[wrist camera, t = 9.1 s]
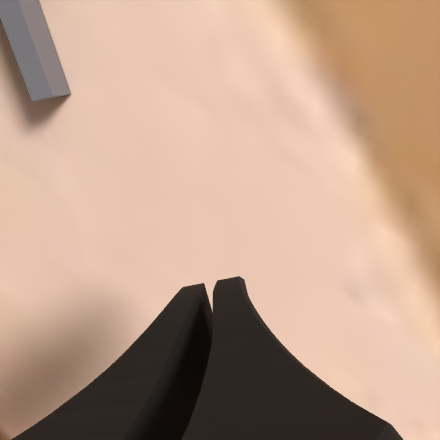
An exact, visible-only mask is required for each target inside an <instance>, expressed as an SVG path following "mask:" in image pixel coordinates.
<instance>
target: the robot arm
mask: <svg viewBox="0 0 440 440" xmlns="http://www.w3.org/2000/svg"><path fill="white" fill-rule="evenodd" d="M12 440H403V439H402V437H401V436H400V435H399V434H398V432H397V431H396V430H395V429H394V427H393V426H392V425H391V424H389V423H388V422H386V421H384V420H383V419H381V418H379V417H377V416H375V415H374V414H372V413H370V412H368V411H367V410H365V409H363V408H361V407H360V406H358V405H356V404H355V403H353V402H351V401H350V400H349V399H347V398H346V397H344V396H343V395H341V394H340V393H338V392H337V391H336V390H334V389H333V388H331V387H330V386H329V385H327V384H326V383H325V382H324V381H322V380H321V379H320V378H319V377H317V376H316V375H315V374H314V373H312V372H311V371H310V370H309V369H307V368H306V367H305V366H304V365H303V364H302V363H301V362H299V361H298V360H297V359H296V358H295V357H294V356H293V355H292V354H291V353H290V352H289V351H288V350H287V349H286V348H285V347H284V346H283V345H282V344H281V342H280V341H279V340H278V339H277V338H276V337H275V335H274V334H273V333H272V332H271V331H270V329H269V328H268V327H267V325H266V324H265V323H264V321H263V320H262V318H261V317H260V316H259V314H258V312H257V311H256V309H255V308H254V306H253V304H252V302H251V301H250V299H249V297H248V293H247V289H246V285H245V281H244V279H243V278H241V277H233V278H228V279H223V280H218V281H217V283H216V285H215V287H214V290H213V313H212V309H211V306H210V302H209V299H208V295H207V292H206V288H205V285H204V283H202V284H197V285H192V286H186V287H183V288H182V289H181V290H180V291H179V292H178V293H177V294H176V295H175V296H174V298H173V299H172V300H171V301H170V302H169V304H168V305H167V306H166V307H165V308H164V310H163V311H162V312H161V313H160V314H159V315H158V317H157V318H156V319H155V320H154V321H153V322H152V324H151V325H150V326H149V327H148V328H147V329H146V330H145V331H144V333H143V334H142V335H141V336H140V337H139V338H138V339H137V340H136V341H135V342H134V343H133V344H132V345H131V346H130V347H129V348H128V349H127V350H126V351H125V353H124V354H123V355H122V356H120V357H119V358H118V359H117V360H116V361H115V362H114V363H113V364H112V365H111V366H110V367H109V368H108V369H107V370H105V371H104V372H103V373H102V374H101V375H100V376H98V377H97V378H96V379H95V380H94V381H93V382H92V383H90V384H89V385H88V386H87V387H85V388H84V389H83V390H81V391H80V392H79V393H77V394H76V395H75V396H74V397H72V398H71V399H70V400H68V401H67V402H66V403H64V404H63V405H62V406H60V407H59V408H58V409H56V410H55V411H54V412H52V413H51V414H50V415H48V416H47V417H45V418H44V419H42V420H41V421H39V422H38V423H36V424H35V425H33V426H32V427H30V428H29V429H27V430H26V431H24V432H23V433H21V434H20V435H18V436H16V437H15V438H13V439H12Z"/></svg>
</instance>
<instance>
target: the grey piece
mask: <svg viewBox="0 0 440 440" xmlns="http://www.w3.org/2000/svg"><path fill="white" fill-rule="evenodd" d="M0 19H1V21H2V24H3V27H4V29H5V32H6V35H7V37H8V40H9V42H10V45H11V48H12V50H13V53H14V56H15V58H16V61H17V63H18V66H19V69H20V71H21V74H22V77H23V79H24V82H25V84H26V87H27V90H28V92H29V95H30V98H31V100H32V101H39V100H47V99H53V98H57V97H61V96H65V95H69V94H71V92H70V89H69V86H68V84H67V81H66V78H65V75H64V72H63V69H62V66H61V63H60V60H59V57H58V55H57V52H56V49H55V46H54V43H53V40H52V37H51V34H50V31H49V28H48V26H47V23H46V20H45V17H44V14H43V11H42V8H41V5H40V2H39V0H0Z"/></svg>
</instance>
